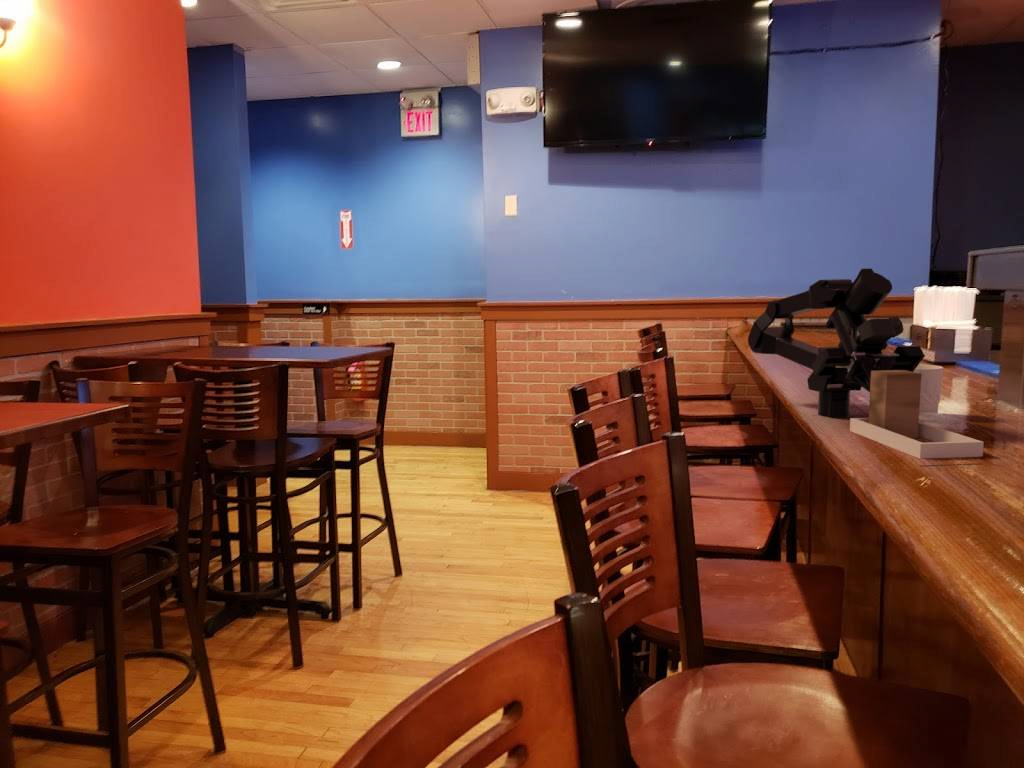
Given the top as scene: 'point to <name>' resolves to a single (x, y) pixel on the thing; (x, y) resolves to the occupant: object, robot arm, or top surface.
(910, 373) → the walnut block
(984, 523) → the top surface
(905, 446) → the box
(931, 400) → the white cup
